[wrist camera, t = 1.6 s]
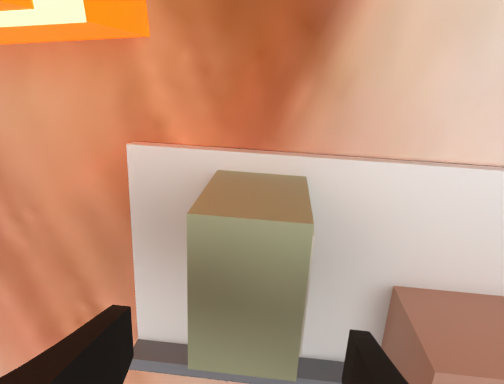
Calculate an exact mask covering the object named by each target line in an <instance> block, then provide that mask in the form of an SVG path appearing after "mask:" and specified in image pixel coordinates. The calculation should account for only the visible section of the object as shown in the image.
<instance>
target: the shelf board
mask: <svg viewBox="0 0 504 384" xmlns="http://www.w3.org/2000/svg"><path fill="white" fill-rule="evenodd" d="M126 147H127V163H128V180H129V196H130V213H131V229H132V246H133V262H134V279H135V295H136V312H137V328H138V340H137V342H136V344H135V346H134V347H133V352H134V357H133V359H132V362H131V365H130V367H129V369H130V370H139V371H147V372H156V373H164V374H173V375H181V376H190V377H198V378H207V379H215V380H224V381H232V382H241V383H249V384H342V380H341V379H342V373H343V367H344V361H345V355H346V349H347V343H348V337H349V331H350V329H352V330H362V331H369V332H370V333H371V334H372V335H373V337H374V338H375V339H376V341H377V342H378V344H379V345H380V346H381V345H382V340H383V335H384V330H385V325H386V320H387V315H388V310H389V305H390V300H391V295H392V290H393V286H402V287H412V288H423V289H433V290H444V291H454V292H465V293H475V294H486V295H497V296H504V167H493V166H479V165H465V164H451V163H436V162H422V161H408V160H393V159H379V158H365V157H351V156H336V155H322V154H308V153H293V152H279V151H265V150H250V149H236V148H222V147H208V146H193V145H179V144H165V143H150V142H136V141H132V142H130V143H128V144H126ZM217 170H226V171H239V172H253V173H266V174H280V175H293V176H306V178H307V184H308V190H309V196H310V202H311V209H312V215H313V221H314V232H315V241H314V249H313V258H312V266H311V275H310V284H309V292H308V301H307V309H306V318H305V326H304V335H303V344H302V352H301V357H299V360H298V369H297V378H296V381H287V380H278V379H270V378H261V377H252V376H244V375H235V374H227V373H218V372H209V371H201V370H192V369H188V317H187V212H188V211H189V210H190V208H191V207H192V205H193V204H194V203H195V201H196V200H197V198H198V197H199V196H200V194H201V193H202V191H203V190H204V188H205V187H206V186H207V184H208V183H209V181H210V180H211V179H212V177H213V176H214V174H215V173H216V172H217Z"/></svg>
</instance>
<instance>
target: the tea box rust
mask: <svg viewBox="0 0 504 384" xmlns="http://www.w3.org/2000/svg"><path fill="white" fill-rule="evenodd" d="M381 348H382V349H383V351H384V352H385V353H386V355H387V356H388V357H389V359H390V360H391V361H392V363H393V364H394V365H395V367H396V368H397V369H398V371H399V372H400V373H401V374H402V376H403V377H404V378H405V379H406V381H407V382H408V383H409V384H504V296H497V295H486V294H475V293H465V292H454V291H444V290H433V289H423V288H412V287H402V286H393V290H392V295H391V300H390V305H389V310H388V315H387V320H386V325H385V330H384V335H383V340H382V345H381Z"/></svg>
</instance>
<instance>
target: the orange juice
mask: <svg viewBox="0 0 504 384" xmlns="http://www.w3.org/2000/svg"><path fill="white" fill-rule="evenodd" d="M131 37H150V33H149V24H148V15H147V7H146V0H0V44H16V43H35V42H54V41H73V40H93V39H112V38H131Z"/></svg>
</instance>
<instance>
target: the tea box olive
mask: <svg viewBox="0 0 504 384" xmlns="http://www.w3.org/2000/svg"><path fill="white" fill-rule="evenodd" d="M314 241H315V232H314V221H313V215H312V209H311V202H310V196H309V190H308V184H307V178H306V176H293V175H280V174H266V173H253V172H239V171H226V170H217V172H216V173H215V174H214V176H213V177H212V179H211V180H210V181H209V183H208V184H207V186H206V187H205V188H204V190H203V191H202V193H201V194H200V196H199V197H198V198H197V200H196V201H195V203H194V204H193V205H192V207H191V208H190V210H189V211H188V212H187V317H188V369H192V370H201V371H209V372H218V373H227V374H235V375H244V376H252V377H261V378H270V379H278V380H287V381H296V378H297V369H298V360H299V357H301V352H302V344H303V335H304V326H305V318H306V309H307V301H308V292H309V284H310V275H311V266H312V258H313V249H314Z"/></svg>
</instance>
